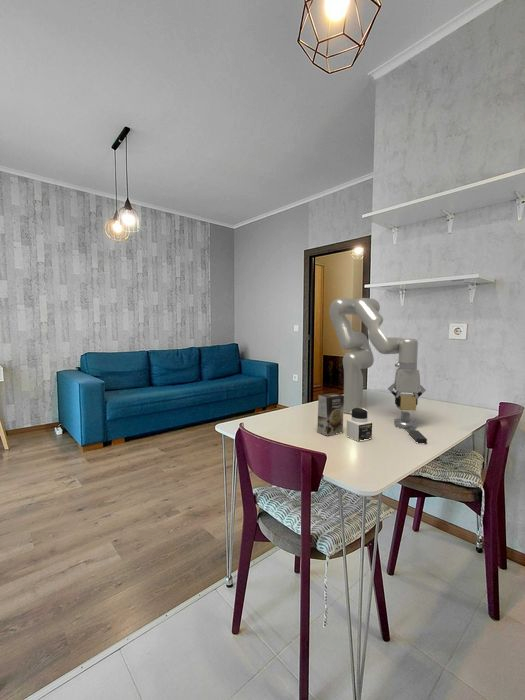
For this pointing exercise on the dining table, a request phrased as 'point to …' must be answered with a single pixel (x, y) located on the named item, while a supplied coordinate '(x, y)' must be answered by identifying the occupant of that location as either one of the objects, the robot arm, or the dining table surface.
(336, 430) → the coffee box
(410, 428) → the ratchet
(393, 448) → the dining table surface
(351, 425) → the medicine bottle
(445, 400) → the dining table surface
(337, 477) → the dining table surface
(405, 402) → the brass-coloured cube
